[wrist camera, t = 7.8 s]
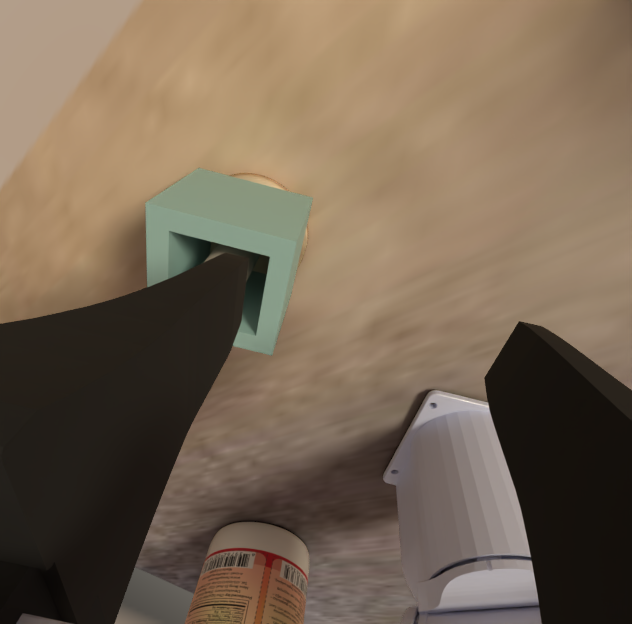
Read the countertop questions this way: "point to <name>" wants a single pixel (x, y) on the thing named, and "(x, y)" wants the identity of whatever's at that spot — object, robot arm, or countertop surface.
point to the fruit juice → (252, 577)
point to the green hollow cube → (231, 241)
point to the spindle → (255, 260)
